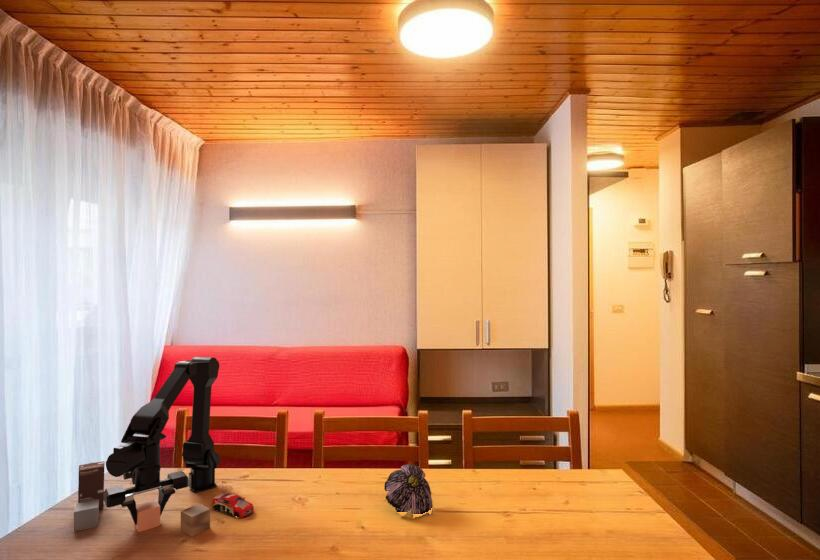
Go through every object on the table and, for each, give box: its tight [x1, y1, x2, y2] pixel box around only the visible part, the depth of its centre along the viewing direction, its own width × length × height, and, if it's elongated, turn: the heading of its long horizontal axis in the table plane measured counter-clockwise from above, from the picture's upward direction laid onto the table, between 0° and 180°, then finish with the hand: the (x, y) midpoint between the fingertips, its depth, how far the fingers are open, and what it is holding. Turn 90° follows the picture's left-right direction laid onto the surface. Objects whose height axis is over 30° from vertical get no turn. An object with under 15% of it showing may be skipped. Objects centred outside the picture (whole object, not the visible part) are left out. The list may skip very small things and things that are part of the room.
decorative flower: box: [383, 463, 434, 515], centre depth 134 cm, size 15×12×15 cm
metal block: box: [180, 503, 211, 537], centre depth 121 cm, size 5×5×5 cm
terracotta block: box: [134, 498, 161, 533], centre depth 123 cm, size 5×5×5 cm
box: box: [77, 461, 106, 510], centre depth 131 cm, size 6×4×12 cm
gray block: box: [73, 499, 100, 532], centre depth 123 cm, size 5×5×5 cm
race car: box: [211, 492, 255, 518], centre depth 131 cm, size 13×5×4 cm, turn 60°
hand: (147, 520), depth 123 cm, fingers closed on terracotta block, 5 cm apart
